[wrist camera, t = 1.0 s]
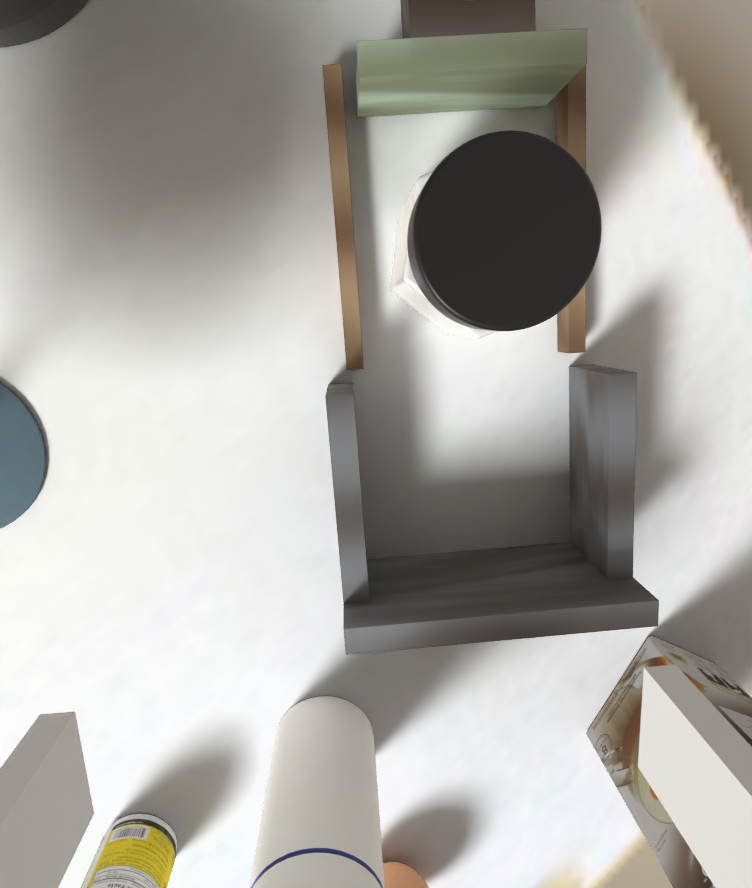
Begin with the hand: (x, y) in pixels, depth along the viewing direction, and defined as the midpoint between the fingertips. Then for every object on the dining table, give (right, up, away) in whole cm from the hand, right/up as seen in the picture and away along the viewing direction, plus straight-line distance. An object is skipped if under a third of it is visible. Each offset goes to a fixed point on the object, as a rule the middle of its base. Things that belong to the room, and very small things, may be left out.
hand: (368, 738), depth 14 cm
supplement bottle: (-17, -22, +30) cm, 42 cm away
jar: (+5, +18, +23) cm, 30 cm away
